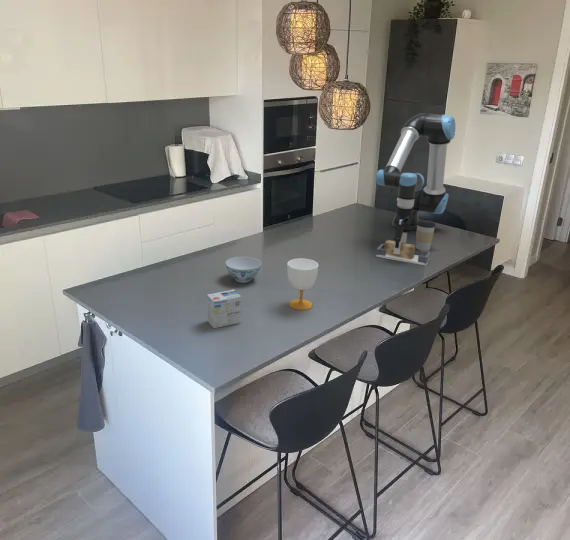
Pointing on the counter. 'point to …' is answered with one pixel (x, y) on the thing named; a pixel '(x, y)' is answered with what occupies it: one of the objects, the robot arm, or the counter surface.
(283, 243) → the counter surface
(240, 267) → the chinaware
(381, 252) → the holder
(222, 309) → the light bulb box
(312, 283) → the cup
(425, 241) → the coffee cup
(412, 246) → the tan rectangular block
